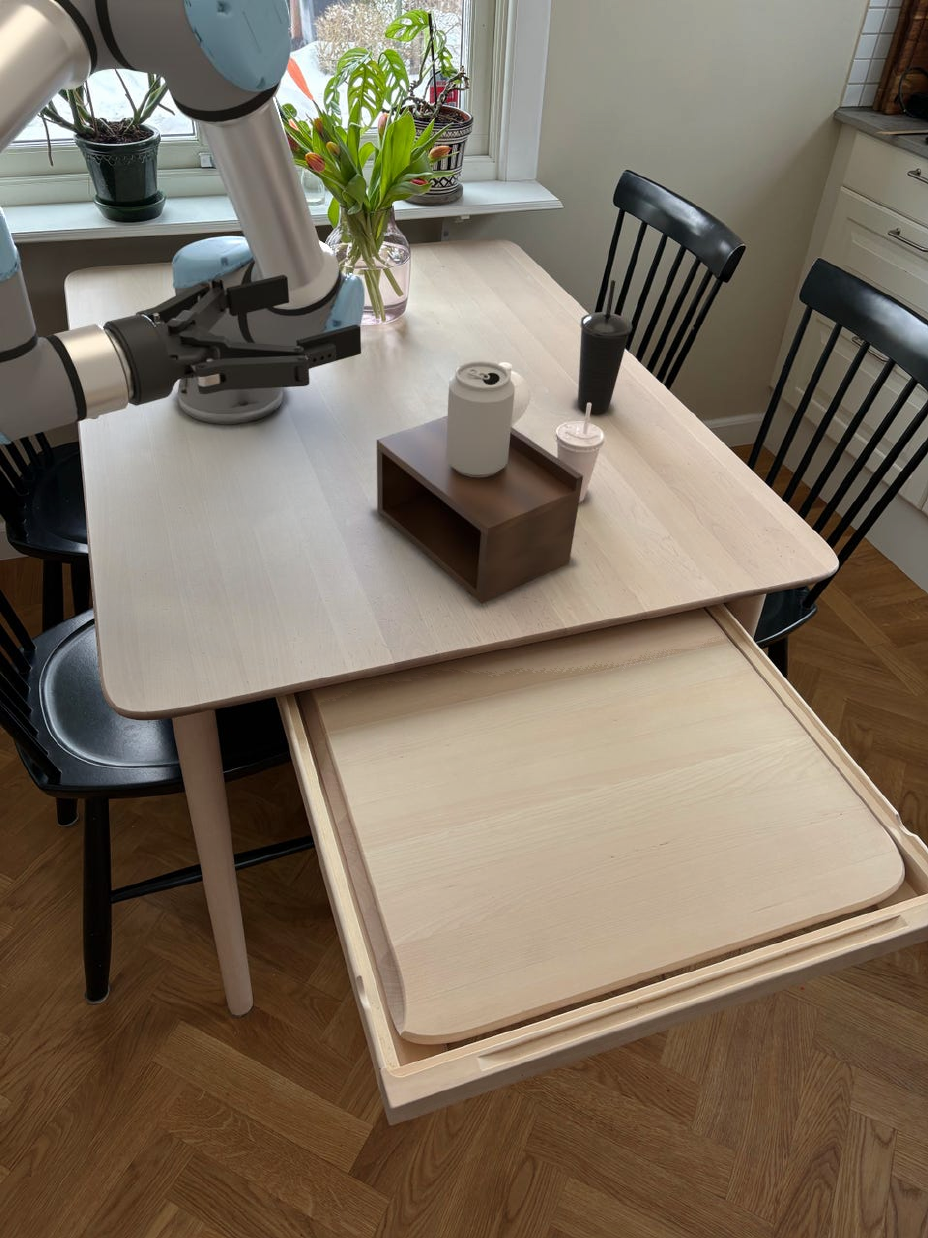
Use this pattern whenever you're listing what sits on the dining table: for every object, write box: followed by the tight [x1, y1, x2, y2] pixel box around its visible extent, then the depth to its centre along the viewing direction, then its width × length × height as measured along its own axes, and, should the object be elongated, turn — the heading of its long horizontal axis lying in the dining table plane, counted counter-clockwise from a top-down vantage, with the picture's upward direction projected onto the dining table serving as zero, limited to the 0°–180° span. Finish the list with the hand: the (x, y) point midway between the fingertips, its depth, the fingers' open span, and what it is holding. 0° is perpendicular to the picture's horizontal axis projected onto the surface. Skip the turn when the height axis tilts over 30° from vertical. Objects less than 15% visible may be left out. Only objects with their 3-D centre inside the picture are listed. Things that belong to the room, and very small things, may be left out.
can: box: [446, 360, 515, 477], centre depth 111 cm, size 8×8×12 cm
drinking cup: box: [577, 279, 633, 416], centre depth 143 cm, size 8×8×20 cm
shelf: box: [376, 414, 583, 604], centre depth 118 cm, size 14×22×13 cm, turn 38°
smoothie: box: [554, 403, 605, 503], centre depth 126 cm, size 6×6×14 cm
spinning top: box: [498, 361, 531, 428], centre depth 137 cm, size 8×8×12 cm
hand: (321, 312), depth 96 cm, fingers open, 13 cm apart
